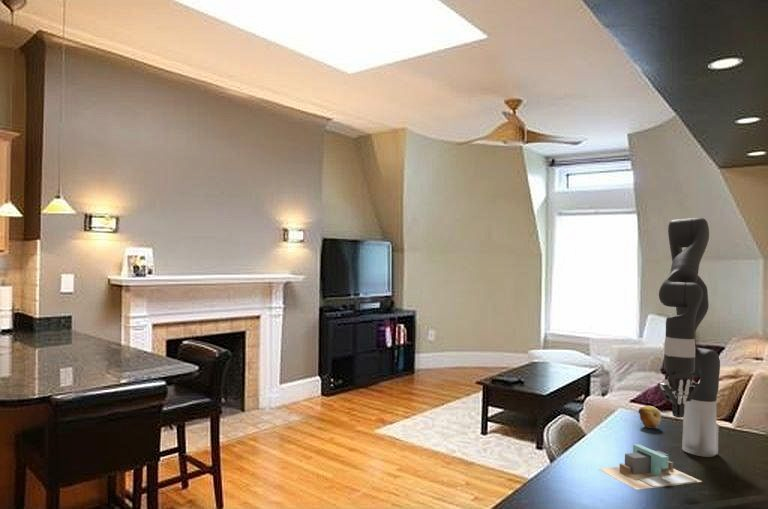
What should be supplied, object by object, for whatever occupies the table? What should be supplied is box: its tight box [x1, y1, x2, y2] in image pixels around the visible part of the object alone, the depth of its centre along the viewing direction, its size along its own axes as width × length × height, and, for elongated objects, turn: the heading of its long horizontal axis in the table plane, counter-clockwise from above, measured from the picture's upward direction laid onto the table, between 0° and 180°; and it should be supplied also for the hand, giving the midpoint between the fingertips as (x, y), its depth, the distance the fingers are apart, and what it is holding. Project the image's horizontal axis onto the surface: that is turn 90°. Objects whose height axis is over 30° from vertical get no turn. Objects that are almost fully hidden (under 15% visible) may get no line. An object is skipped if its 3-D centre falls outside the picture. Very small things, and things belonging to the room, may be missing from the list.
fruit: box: [637, 405, 662, 429], centre depth 193 cm, size 8×8×8 cm
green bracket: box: [632, 443, 670, 476], centre depth 146 cm, size 2×10×6 cm, turn 18°
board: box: [598, 460, 703, 491], centre depth 144 cm, size 22×14×3 cm, turn 108°
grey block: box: [624, 449, 669, 475], centre depth 147 cm, size 12×4×4 cm, turn 108°
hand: (678, 416), depth 144 cm, fingers closed
